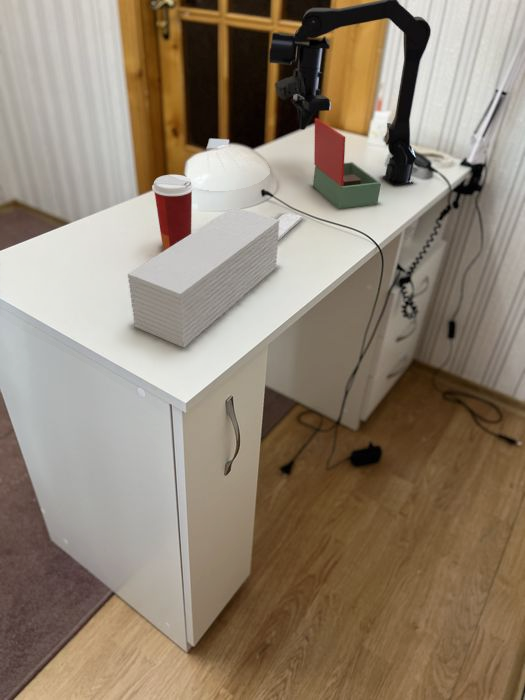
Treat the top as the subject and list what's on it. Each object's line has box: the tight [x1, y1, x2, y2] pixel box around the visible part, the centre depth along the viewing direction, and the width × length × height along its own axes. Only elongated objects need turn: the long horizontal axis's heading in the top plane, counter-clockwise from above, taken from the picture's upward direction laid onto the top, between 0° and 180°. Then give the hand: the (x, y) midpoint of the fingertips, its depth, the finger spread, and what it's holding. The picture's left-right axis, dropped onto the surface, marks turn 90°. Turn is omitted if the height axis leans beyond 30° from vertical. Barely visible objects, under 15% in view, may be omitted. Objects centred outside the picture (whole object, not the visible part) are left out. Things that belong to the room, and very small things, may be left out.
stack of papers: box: [127, 206, 279, 348], centre depth 99 cm, size 32×11×11 cm, turn 150°
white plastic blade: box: [277, 212, 302, 241], centre depth 124 cm, size 5×15×1 cm, turn 152°
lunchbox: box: [312, 161, 382, 210], centre depth 141 cm, size 11×15×6 cm
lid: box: [313, 117, 346, 186], centre depth 133 cm, size 12×15×1 cm
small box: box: [205, 138, 231, 151], centre depth 142 cm, size 8×6×10 cm
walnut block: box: [343, 175, 361, 186], centre depth 141 cm, size 5×4×4 cm
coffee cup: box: [151, 174, 194, 251], centre depth 111 cm, size 8×8×15 cm
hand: (302, 129), depth 146 cm, fingers closed
